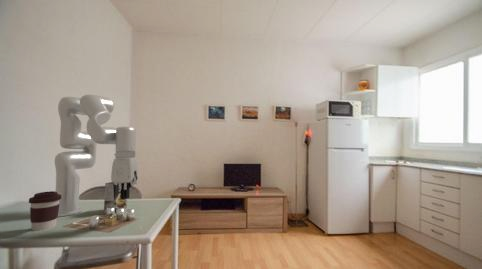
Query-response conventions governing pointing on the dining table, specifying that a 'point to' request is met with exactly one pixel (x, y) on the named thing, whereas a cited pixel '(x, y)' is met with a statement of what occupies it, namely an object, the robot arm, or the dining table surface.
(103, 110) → the robot arm
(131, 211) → the spacer
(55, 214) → the coffee cup
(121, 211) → the spacer
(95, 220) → the spacer
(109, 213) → the spacer
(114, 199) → the coffee box
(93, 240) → the dining table surface
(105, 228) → the board
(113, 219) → the nut
